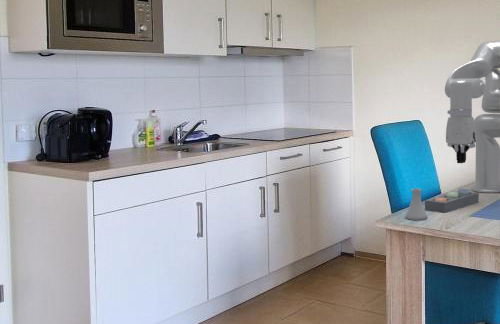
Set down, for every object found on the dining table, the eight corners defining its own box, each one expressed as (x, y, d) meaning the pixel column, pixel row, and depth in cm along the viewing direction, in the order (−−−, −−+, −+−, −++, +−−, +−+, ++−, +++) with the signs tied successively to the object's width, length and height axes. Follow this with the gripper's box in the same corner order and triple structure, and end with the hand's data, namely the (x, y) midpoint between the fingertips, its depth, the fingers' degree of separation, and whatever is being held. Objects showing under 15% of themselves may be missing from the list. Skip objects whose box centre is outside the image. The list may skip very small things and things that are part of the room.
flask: (428, 220, 206) (428, 191, 205) (405, 220, 208) (405, 191, 207) (426, 216, 213) (426, 187, 212) (404, 215, 215) (404, 187, 214)
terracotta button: (438, 205, 225) (438, 197, 225) (448, 206, 222) (448, 198, 222) (432, 207, 223) (432, 198, 222) (442, 208, 220) (442, 200, 219)
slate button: (461, 196, 236) (461, 188, 236) (471, 197, 233) (471, 189, 233) (455, 197, 233) (455, 189, 233) (465, 198, 230) (465, 190, 230)
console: (459, 199, 239) (459, 190, 238) (478, 202, 233) (478, 193, 233) (424, 209, 223) (424, 200, 223) (444, 212, 217) (444, 203, 217)
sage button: (450, 199, 231) (450, 191, 230) (460, 200, 228) (460, 192, 227) (444, 200, 228) (444, 192, 228) (454, 202, 225) (454, 194, 225)
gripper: (437, 114, 231) (437, 162, 233) (474, 115, 220) (475, 165, 222) (448, 112, 236) (448, 159, 238) (485, 113, 225) (485, 162, 227)
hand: (461, 162), depth 230 cm, fingers closed
